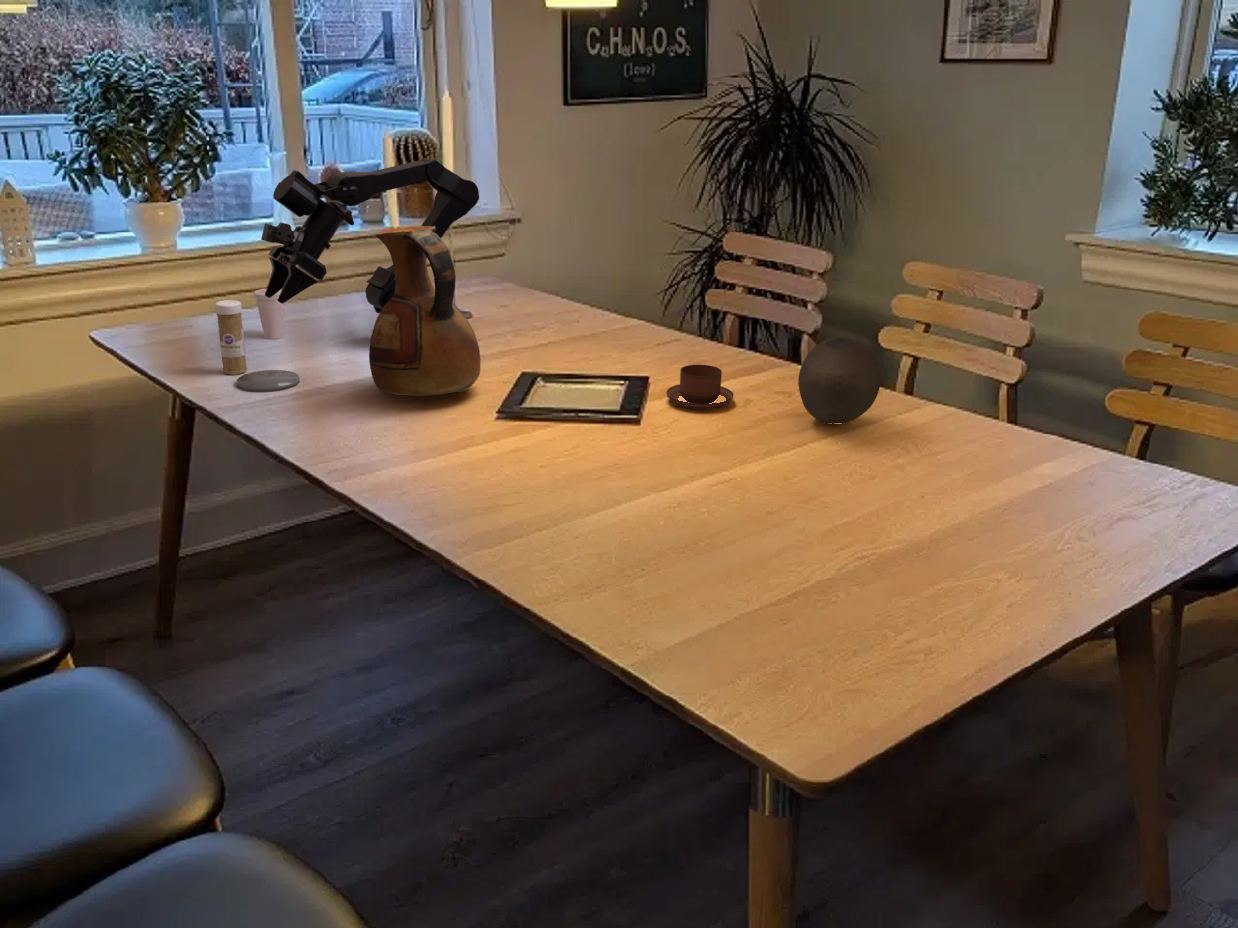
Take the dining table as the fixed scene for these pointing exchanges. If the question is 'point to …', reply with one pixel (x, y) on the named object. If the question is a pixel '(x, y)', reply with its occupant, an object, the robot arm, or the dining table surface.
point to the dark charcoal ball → (839, 380)
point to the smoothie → (270, 313)
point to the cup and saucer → (699, 387)
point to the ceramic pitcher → (422, 322)
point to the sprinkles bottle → (231, 336)
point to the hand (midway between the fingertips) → (273, 299)
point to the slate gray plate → (268, 380)
